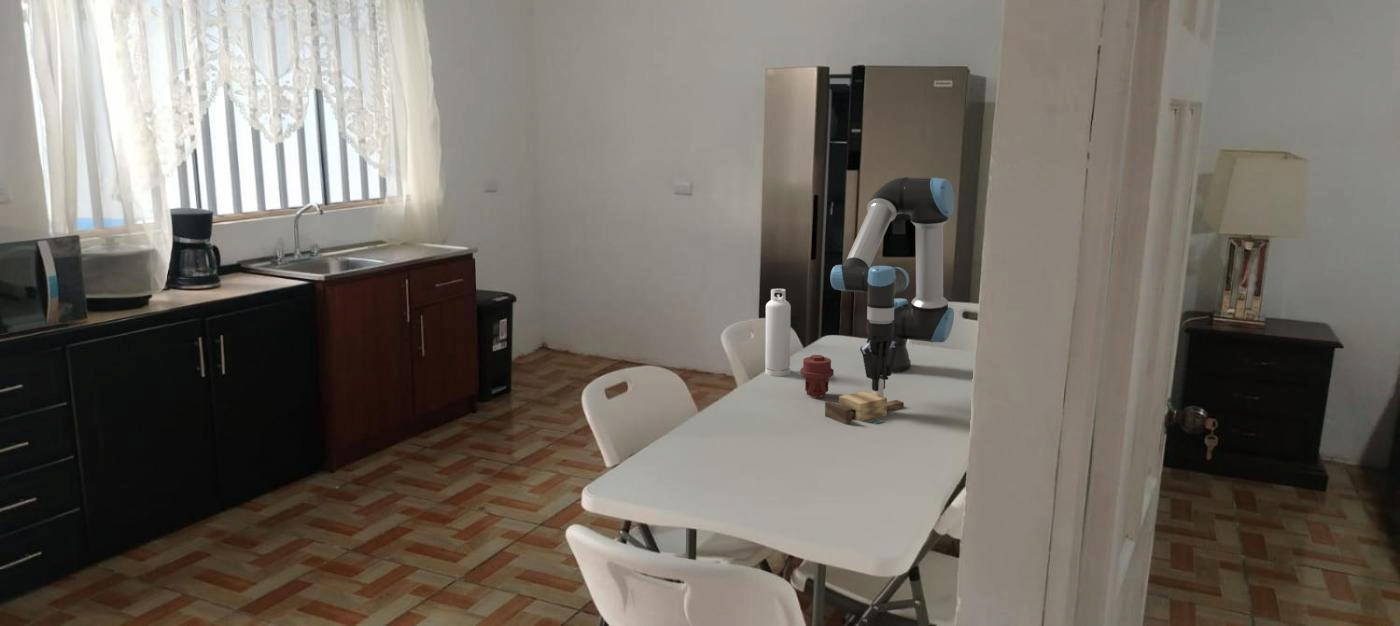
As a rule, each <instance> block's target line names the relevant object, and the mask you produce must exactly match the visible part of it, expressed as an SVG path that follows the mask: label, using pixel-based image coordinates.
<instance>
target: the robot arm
mask: <svg viewBox="0 0 1400 626" xmlns="http://www.w3.org/2000/svg"><path fill="white" fill-rule="evenodd" d="M955 200H956V199H955V193H954V188H953V186H952V184H951V182H950V181H949V180H948V179H946V178H941V177H940V178H938V177H934V176H933V177H914V176H913V177H912V176H911V177H908V176H907V177H906V176H902V177H896V178H894V179H891V180H889V181H887V182H885V183H884V184H883V185H882V186H880V187H879V188H878V189H877V190H876V191H875V192H874V193H873V194H872V195H871V198H870V200H869V201H868V203H867V206H866V211H867V213H866V215H865V217H864V220H863V222H862V224H861V226H860V229H859V231H858V233H857V235H856V237H855V240H854V242H853V244H852V247H851V249H850V250H849V253H848V255H847V258H845V259H846V260H845V262H844V263H843V264H836V265H835V266H833V267H832V269H831V271H830V275H829V277H830V279H829V280H830V284H831V285H830V286H831V287H832V288H833V289H834V290H835V291H837V290H838V291H843V292H855V293H866V294H867V303H866V304H867V307H866V309H867V310H866V314H867V315H866V317H867V318H866V319H867V322H866V335H867V341H866V344H865V345H864V346H860V349H859V350H860V352H861V354H862V359H863V363H864V370H865V377H866V378H868V379H871V390H872V393H873V394H876V395H879V396H882V397H884V390H885V389H886V380H889V377H890V376H892V374H893V373H894V374H896V373H903V372H907V371H908V372H909V370H911V366H912V364H911V361H912V360H911V359H910V356H909V353H908V348H907V340H911V341H921V342H926V343H927V342H928V343H929V342H930V343H945V342H946V341H947V340H948V338H949V336H950V334H951V332H952V329H953V324H954V320H955V319H954V318H955V310H954V308H952V307H949V301H948V299H946V298H945V297H944V225H945V224H947V222H949V217H950V216H952V215H953V214H954V211H955ZM900 214H902V215H909V216H910V222H911V223H912V224H913V226H914V227H915V289H916V290H915V297H914V298H913V299H912V300H911V301H910V302H911V303H909V301H908V299H906V298H900V297H899V298H895V297H896V295H899V294H901V293H902V292H904V291H905V290H906V289H907V288H908V286H909V283H910V276H909V273H908V272H907V271H906V270H905V269H904V268H902V267H898V266H895V267H893V266H890V265H874V266H871V265H872V263H873V261H874V258H875V257H876V254H877V252H878V250H879V247H880V245H881V243H882V240H883V238H884V236H885V235H886V232H887V230H888V227H889V226H890V223H891V222H893V221H894V220H895V219H896V217H897V215H900Z"/></svg>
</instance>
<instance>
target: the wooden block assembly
mask: <svg viewBox="0 0 1400 626" xmlns="http://www.w3.org/2000/svg"><path fill="white" fill-rule="evenodd" d="M904 404H905V402H904V401H901V400H898V399H894V400H893V399H892V400H890V401H887V412H888V411H893V410H897V409H901V408H904V407H905V406H904ZM824 416H825V417H827V418H829V419H831V420H834V421H836V422H839V423H841V424H844V425H849V424H852V419H856V410H854V409H850V408H847V407H844V406H842V405H839V403H836V402H834V401H826V402H825V403H824ZM868 422H870V423H872V424H875V425H878V424H882V423H885V421H884V420H881V419H880V418H872V419H868Z"/></svg>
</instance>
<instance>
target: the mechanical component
mask: <svg viewBox="0 0 1400 626" xmlns="http://www.w3.org/2000/svg"><path fill="white" fill-rule="evenodd" d="M802 363H803V364H802V367H801V368H800V371H799V372H800V376H802V377H803V378H804V384H805V385H804V391H805V392H806V395H807V396H811V397H813V398H814V399H820V398H821V397H822V396H825V395H826V394H827V393H828V391H829V379H830V378H832V377H833V376H834V369H833V368H832V360H831V358H829V357H825V356H824V355H821V354H813V355H812V354H811V355H810V356H807V357H804V358H803V362H802Z"/></svg>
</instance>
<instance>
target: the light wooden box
mask: <svg viewBox="0 0 1400 626" xmlns="http://www.w3.org/2000/svg"><path fill="white" fill-rule="evenodd" d="M887 402H888V398H887V397H885V396H883V397H882V396H879V395H876V394H873V392H870V391H867V390H863V391H859V392H853V393H848V394H844V395H839V397H838V404H839V405H842V406H844V407H847V408H850V409H854V410H856V418H855V420H856V421H859V422H863V421H867V420H872V419H877V418H879V417H884V416H887V413H888V411H887Z"/></svg>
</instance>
